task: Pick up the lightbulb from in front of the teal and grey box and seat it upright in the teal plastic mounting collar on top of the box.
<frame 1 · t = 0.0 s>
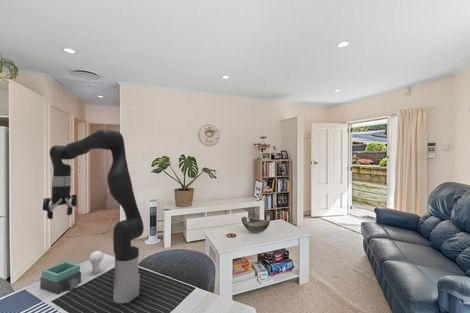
hand: (60, 216, 109), 29 cm above the table, tool pointing down, fingers open, 8 cm apart
teal and grey box: (60, 285, 100), on the table
lightbulb: (95, 273, 111), on the table
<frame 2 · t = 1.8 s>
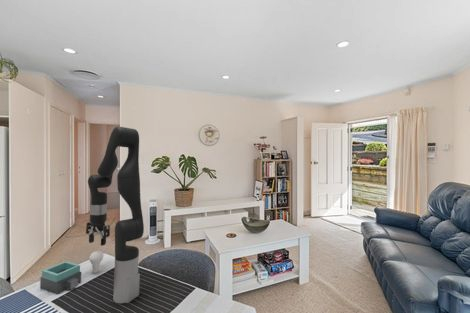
hand: (97, 243, 112), 15 cm above the table, tool pointing down, fingers open, 8 cm apart
nothing on the table moved.
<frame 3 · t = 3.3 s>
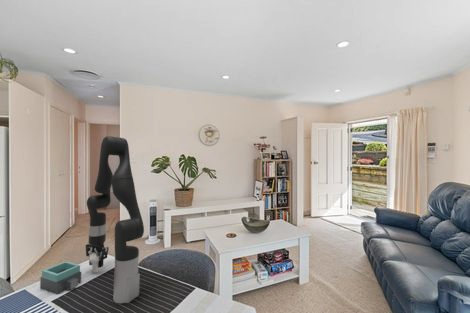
hand: (96, 265, 111), 4 cm above the table, tool pointing down, fingers closed on lightbulb, 5 cm apart
lightbulb: (95, 273, 111), on the table, touching gripper
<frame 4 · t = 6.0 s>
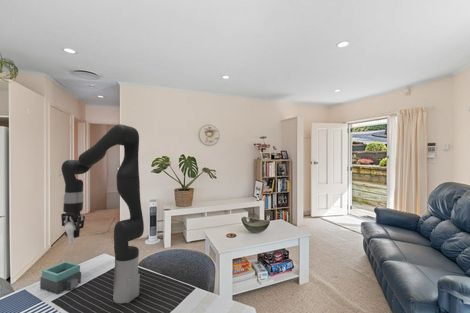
hand: (71, 236, 103), 22 cm above the table, tool pointing down, fingers closed on lightbulb, 5 cm apart
lightbulb: (71, 244, 103), point 18 cm above the table, touching gripper
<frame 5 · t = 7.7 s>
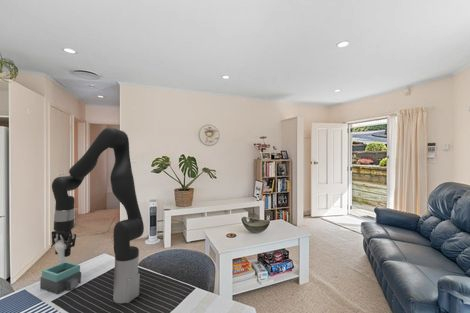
hand: (62, 254, 100), 14 cm above the table, tool pointing down, fingers closed on lightbulb, 5 cm apart
lightbulb: (62, 263, 100), point 10 cm above the table, touching gripper
when the fingers open (9 cm above the table, at t = 9.1 s): lightbulb stays where it is, resting on teal and grey box.
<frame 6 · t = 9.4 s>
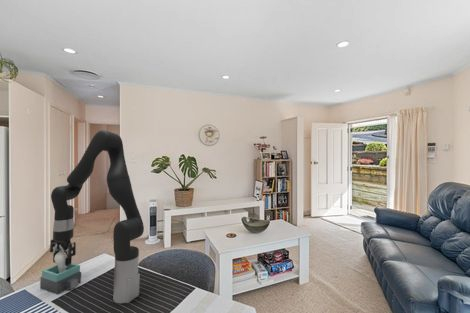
hand: (62, 263, 100), 10 cm above the table, tool pointing down, fingers open, 8 cm apart
lightbulb: (62, 274, 100), point 5 cm above the table, touching teal and grey box
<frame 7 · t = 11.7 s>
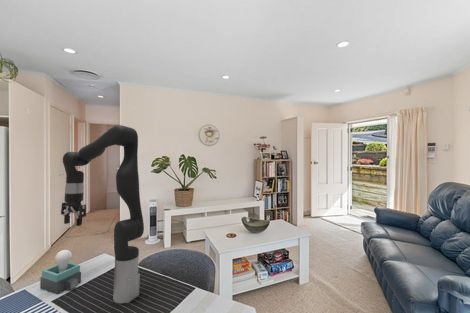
hand: (72, 224, 107), 26 cm above the table, tool pointing down, fingers open, 8 cm apart
nothing on the table moved.
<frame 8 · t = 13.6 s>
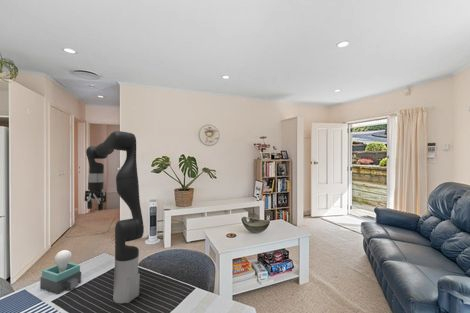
hand: (94, 209, 123), 30 cm above the table, tool pointing down, fingers open, 8 cm apart
nothing on the table moved.
at the end: lightbulb 0.4 cm off-centre on the teal and grey box, point 4.8 cm above the teal and grey box's base; lightbulb tilted 2°; the gripper is holding nothing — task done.
